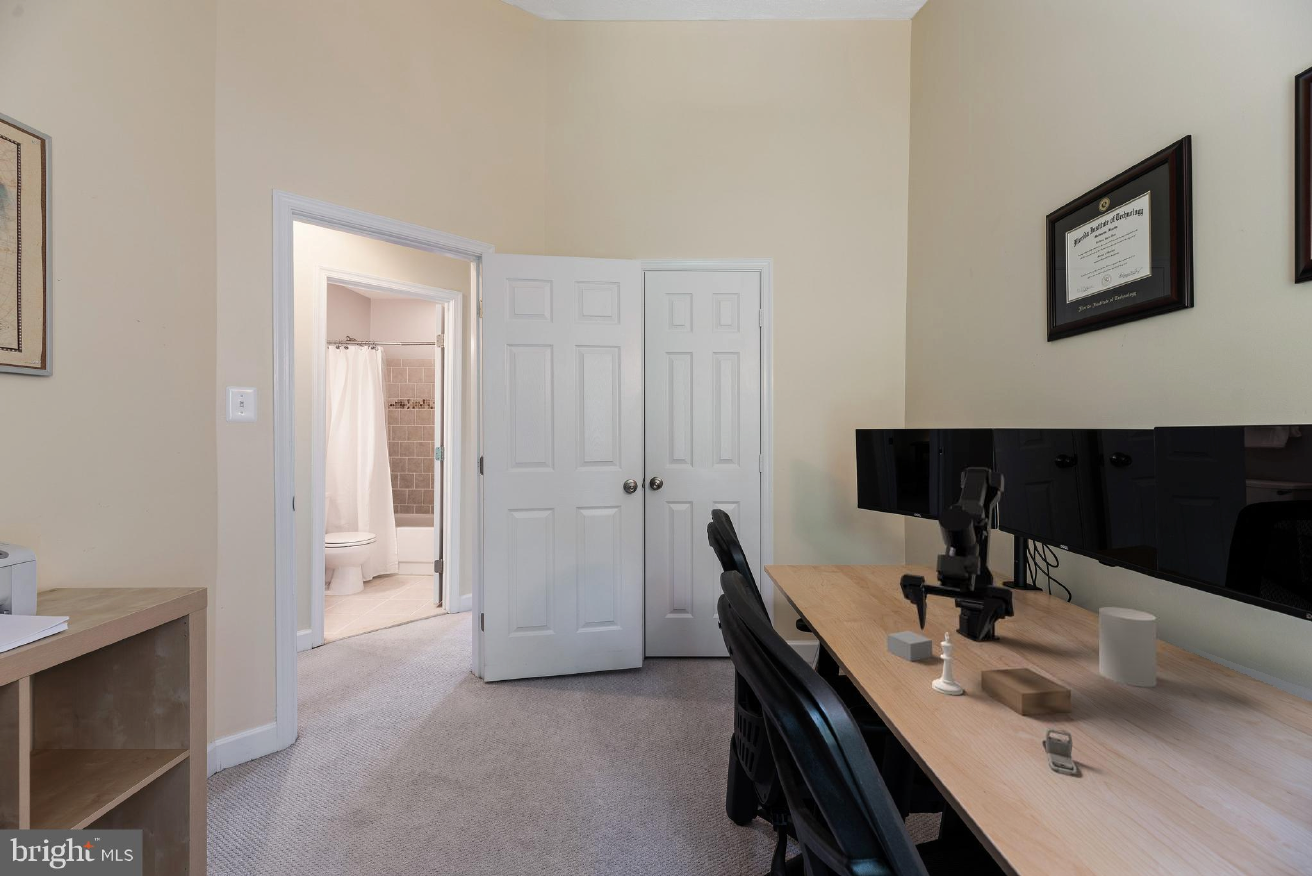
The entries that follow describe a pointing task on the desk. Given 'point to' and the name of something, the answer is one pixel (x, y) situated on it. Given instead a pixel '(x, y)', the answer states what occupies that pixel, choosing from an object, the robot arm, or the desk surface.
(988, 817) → the desk surface
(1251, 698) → the desk surface
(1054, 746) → the grey sandwich maker
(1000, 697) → the walnut block
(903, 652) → the slate block
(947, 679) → the chess piece
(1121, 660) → the white cylinder
